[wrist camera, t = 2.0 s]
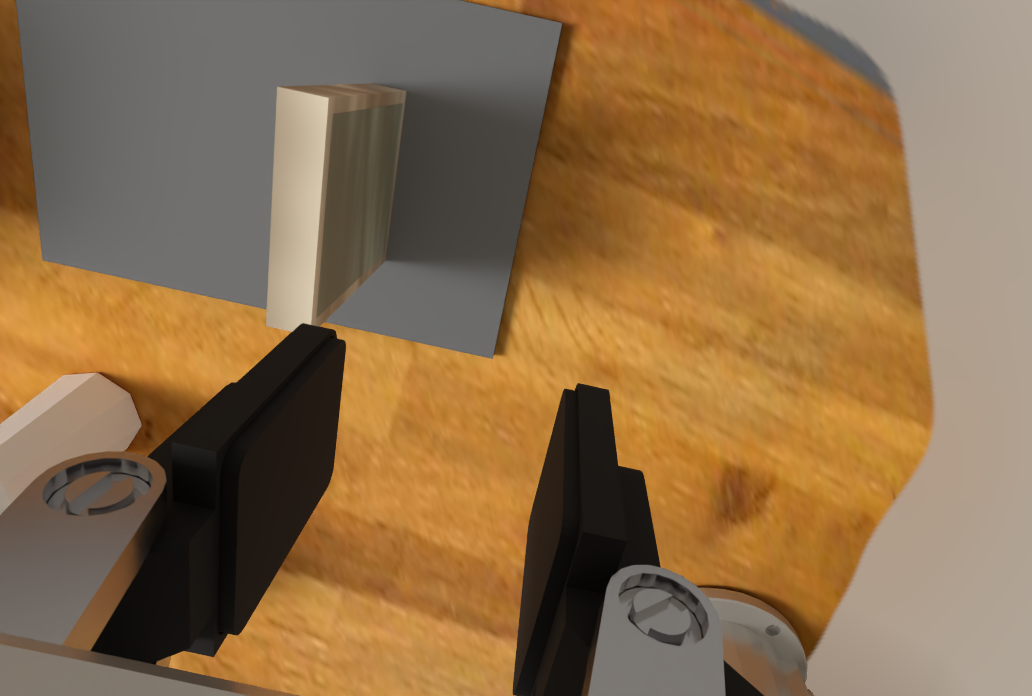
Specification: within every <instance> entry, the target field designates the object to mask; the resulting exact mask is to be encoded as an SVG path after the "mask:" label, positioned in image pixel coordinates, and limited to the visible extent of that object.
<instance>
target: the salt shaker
mask: <svg viewBox="0 0 1032 696" xmlns="http://www.w3.org/2000/svg"><path fill="white" fill-rule="evenodd" d="M141 426H142V424H141V421H140V418H139V416H138V413H137V411H136V408H135V405H134V403H133V400H132V397H131V395H130V393H128V392H127V391H125V390H124V389H122V388H121V387H119V386H118V385H116V384H115V383H113V382H112V381H110V380H109V379H107V378H105V377H104V376H102V375H101V374H99V373H86V374H72V375H63V376H62V377H60V378H59V379H58V380H57V381H55V382H54V383H53V384H51V385H50V386H49V387H47V388H46V389H45V390H44V391H42V392H41V393H40V394H38V395H37V396H36V397H35V398H33V399H32V400H31V401H29V402H28V403H27V404H26V405H24V406H23V407H22V408H20V409H19V410H18V411H17V412H15V413H14V414H13V415H11V416H10V417H9V418H7V419H6V420H5V421H4V422H2V423H1V424H0V515H1V514H2V512H3V511H4V510H5V509H6V508H7V507H8V506H9V505H10V504H11V503H12V502H13V501H14V500H15V499H16V498H17V497H18V496H19V495H20V494H21V493H22V492H23V491H24V490H25V489H26V488H27V487H28V486H29V485H30V484H31V483H32V482H33V481H34V480H35V479H36V478H37V477H38V476H39V475H41V474H42V473H43V472H45V471H46V470H47V469H49V468H50V467H53V466H55V465H57V464H59V463H61V462H63V461H65V460H68V459H71V458H75V457H78V456H82V455H85V454H91V453H99V452H106V451H114V452H123V451H124V450H126V449H127V448H128V446H129V445H130V443H131V442H132V440H133V439H134V437H135V436H136V434H137V432H138V431H139V429H140V428H141Z"/></svg>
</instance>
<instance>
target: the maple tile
mask: <svg viewBox="0 0 1032 696" xmlns="http://www.w3.org/2000/svg"><path fill="white" fill-rule="evenodd" d="M406 92H407V91H404V90H400V89H395V88H391V87H386V86H381V85H377V84H372V83H367V84H337V85H308V86H278V87H277V100H276V122H275V143H274V165H273V186H272V208H271V229H270V251H269V272H268V294H267V315H266V326H268V327H273V328H277V329H282V330H287V331H291V332H293V331H294V330H295V329H296V328H297V327H298V326H299V325H300V324H302V323H305V324H310V325H314V326H319V327H320V326H321V325H322V324H323V323H324V322H325V321H326V320H327V319H328V318H329V317H330V316H331V315H332V314H333V313H334V312H335V311H336V310H337V309H338V308H339V307H340V306H341V305H342V304H343V303H344V302H345V301H346V300H347V299H348V298H349V297H350V296H351V295H352V294H353V293H354V292H355V291H356V290H357V289H358V288H359V287H360V286H361V285H362V284H363V283H364V282H365V281H366V280H367V279H368V278H369V277H370V276H371V275H372V274H373V273H374V272H375V271H376V270H377V269H378V268H379V267H380V266H381V265H382V264H383V263H384V262H385V261H386V254H387V246H388V238H389V230H390V222H391V214H392V206H393V198H394V190H395V182H396V173H397V165H398V157H399V149H400V141H401V133H402V125H403V117H404V109H405V101H406Z"/></svg>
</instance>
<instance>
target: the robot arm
mask: <svg viewBox="0 0 1032 696" xmlns="http://www.w3.org/2000/svg"><path fill="white" fill-rule="evenodd" d="M345 352H346V343H345V341H344V340H340V339H337V335H336V331H335V330H333V329H328V328H323V327H319V326H314V325H310V324H305V323H302V324H300V325H299V326H298V327H297V328H296V329H295V330H294V331H293V332H291V333H290V334H289V335H288V336H287V337H286V338H285V339H284V340H283V341H282V342H280V343H279V344H278V345H277V346H276V347H275V348H274V349H273V350H272V351H271V352H270V353H268V354H267V355H266V356H265V357H264V358H263V359H262V360H261V361H260V362H259V363H258V364H256V365H255V366H254V367H253V368H252V369H251V370H250V371H249V372H248V373H247V374H246V375H244V376H243V377H242V378H241V379H240V380H239V381H238V382H237V383H230V384H229V385H227V386H225V387H224V388H223V389H222V390H221V391H220V392H219V393H218V394H217V395H215V396H214V397H213V398H212V399H211V400H210V401H209V402H208V403H207V404H205V405H204V406H203V407H202V408H201V409H200V410H199V411H198V412H197V413H195V414H194V415H193V416H192V417H191V418H190V419H189V420H188V421H186V422H185V423H184V424H183V425H182V426H181V427H180V428H179V429H178V430H176V431H175V432H174V433H173V434H172V435H171V436H170V437H169V438H168V439H166V440H165V441H164V442H163V443H162V444H161V445H160V446H159V447H157V448H156V449H155V450H154V451H153V452H152V453H151V454H150V455H149V456H147V457H146V456H144V455H140V454H135V453H130V452H114V451H106V452H99V453H91V454H85V455H82V456H78V457H75V458H71V459H68V460H65V461H63V462H61V463H59V464H57V465H55V466H53V467H50V468H49V469H47V470H46V471H45V472H43V473H42V474H41V475H39V476H38V477H37V478H36V479H35V480H34V481H33V482H32V483H31V484H30V485H29V486H28V487H27V488H26V489H25V490H24V491H23V492H22V493H21V494H20V495H19V496H18V497H17V498H16V499H15V500H14V501H13V502H12V503H11V504H10V505H9V506H8V507H7V508H6V509H5V510H4V511H3V512H2V514H1V515H0V696H299V695H294V694H290V693H285V692H280V691H276V690H271V689H266V688H262V687H257V686H252V685H248V684H243V683H238V682H234V681H229V680H224V679H220V678H215V677H210V676H206V675H201V674H196V673H192V672H187V671H182V670H178V669H173V668H169V664H170V660H171V656H172V655H174V654H177V653H179V652H182V651H188V652H192V653H197V654H202V655H206V656H211V657H214V656H215V654H216V652H217V651H218V649H219V647H220V646H221V644H222V643H223V641H224V639H225V638H226V636H227V634H232V635H239V634H240V633H241V632H242V630H243V629H244V627H245V626H246V624H247V622H248V620H249V619H250V617H251V615H252V614H253V612H254V610H255V609H256V607H257V605H258V604H259V602H260V600H261V599H262V597H263V595H264V594H265V592H266V590H267V588H268V587H269V585H270V583H271V582H272V580H273V578H274V577H275V575H276V573H277V572H278V570H279V568H280V567H281V565H282V563H283V561H284V560H285V558H286V556H287V555H288V553H289V551H290V550H291V548H292V546H293V545H294V543H295V541H296V540H297V538H298V536H299V535H300V533H301V531H302V529H303V528H304V526H305V524H306V523H307V521H308V519H309V518H310V516H311V514H312V513H313V511H314V509H315V508H316V506H317V504H318V502H319V501H320V499H321V497H322V496H323V494H324V492H325V491H326V489H327V487H328V485H329V483H330V480H331V477H332V473H333V467H334V459H335V449H336V439H337V430H338V420H339V410H340V400H341V391H342V381H343V371H344V362H345ZM806 677H807V661H806V657H805V652H804V649H803V647H802V644H801V642H800V640H799V637H798V635H797V633H796V631H795V630H794V629H793V627H792V626H791V624H790V623H789V621H788V620H787V619H786V618H785V617H784V616H782V615H781V614H780V613H779V612H778V611H777V610H776V609H774V608H773V607H771V606H769V605H768V604H766V603H765V602H763V601H761V600H759V599H757V598H754V597H751V596H749V595H746V594H744V593H740V592H735V591H731V590H726V589H717V588H698V587H697V586H696V585H694V584H693V583H691V582H690V581H688V580H687V579H685V578H684V577H683V576H681V575H678V574H676V573H674V572H672V571H669V570H667V569H665V568H661V567H660V562H659V556H658V551H657V545H656V540H655V534H654V529H653V523H652V518H651V512H650V507H649V501H648V496H647V490H646V485H645V479H644V475H643V472H641V471H640V470H635V469H631V468H626V467H622V466H618V461H617V452H616V444H615V436H614V428H613V419H612V411H611V403H610V394H609V390H607V389H602V388H598V387H593V386H589V385H584V384H579V383H578V384H577V386H576V388H575V391H573V390H569V389H564V391H563V394H562V397H561V401H560V405H559V408H558V412H557V416H556V420H555V424H554V427H553V431H552V435H551V439H550V443H549V446H548V450H547V454H546V458H545V462H544V465H543V469H542V473H541V477H540V481H539V484H538V488H537V492H536V496H535V500H534V504H533V507H532V511H531V516H530V521H529V526H528V534H527V545H526V555H525V566H524V576H523V587H522V597H521V608H520V618H519V629H518V639H517V650H516V660H515V671H514V681H513V695H516V696H814V695H813V693H812V692H811V691H810V690H809V689H807V688H806V685H805V681H806Z"/></svg>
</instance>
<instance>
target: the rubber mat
mask: <svg viewBox="0 0 1032 696" xmlns="http://www.w3.org/2000/svg"><path fill="white" fill-rule="evenodd" d="M16 6H17V15H18V25H19V35H20V45H21V54H22V64H23V74H24V84H25V93H26V103H27V113H28V123H29V132H30V142H31V152H32V162H33V171H34V181H35V191H36V201H37V210H38V220H39V230H40V239H41V249H42V259H43V260H44V261H48V262H53V263H57V264H62V265H67V266H71V267H76V268H80V269H85V270H89V271H94V272H99V273H103V274H108V275H112V276H117V277H121V278H126V279H131V280H135V281H140V282H144V283H149V284H153V285H158V286H163V287H167V288H172V289H176V290H181V291H185V292H190V293H195V294H199V295H204V296H208V297H213V298H217V299H222V300H226V301H231V302H236V303H240V304H245V305H249V306H254V307H258V308H263V309H267V294H268V272H269V251H270V229H271V208H272V186H273V165H274V143H275V122H276V100H277V87H278V86H308V85H337V84H367V83H372V84H377V85H381V86H386V87H391V88H395V89H400V90H404V91H407V92H406V101H405V109H404V117H403V125H402V133H401V141H400V149H399V157H398V165H397V173H396V182H395V190H394V198H393V206H392V214H391V222H390V230H389V238H388V246H387V254H386V261H385V262H384V263H383V264H382V265H381V266H380V267H379V268H378V269H377V270H376V271H375V272H374V273H373V274H372V275H371V276H370V277H369V278H368V279H367V280H366V281H365V282H364V283H363V284H362V285H361V286H360V287H359V288H358V289H357V290H356V291H355V292H354V293H353V294H352V295H351V296H350V297H349V298H348V299H347V300H346V301H345V302H344V303H343V304H342V305H341V306H340V307H339V308H338V309H337V310H336V311H335V312H334V313H333V314H332V315H331V316H330V317H329V318H328V319H327V320H326V321H325V322H327V323H332V324H336V325H341V326H345V327H350V328H354V329H359V330H363V331H368V332H373V333H377V334H382V335H386V336H391V337H395V338H400V339H405V340H409V341H414V342H418V343H423V344H427V345H432V346H437V347H441V348H446V349H450V350H455V351H459V352H464V353H469V354H473V355H478V356H482V357H487V358H491V359H493V355H494V351H495V346H496V341H497V336H498V332H499V327H500V322H501V317H502V312H503V307H504V303H505V298H506V293H507V288H508V283H509V279H510V274H511V269H512V264H513V259H514V254H515V250H516V245H517V240H518V235H519V230H520V226H521V221H522V216H523V211H524V206H525V201H526V197H527V192H528V187H529V182H530V177H531V172H532V168H533V163H534V158H535V153H536V148H537V144H538V139H539V134H540V129H541V124H542V119H543V115H544V110H545V105H546V100H547V95H548V91H549V86H550V81H551V76H552V71H553V66H554V62H555V57H556V52H557V47H558V42H559V38H560V33H561V28H562V23H560V22H555V21H551V20H546V19H542V18H537V17H533V16H528V15H524V14H519V13H515V12H510V11H506V10H501V9H497V8H492V7H488V6H483V5H479V4H474V3H470V2H465V1H461V0H16Z"/></svg>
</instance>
